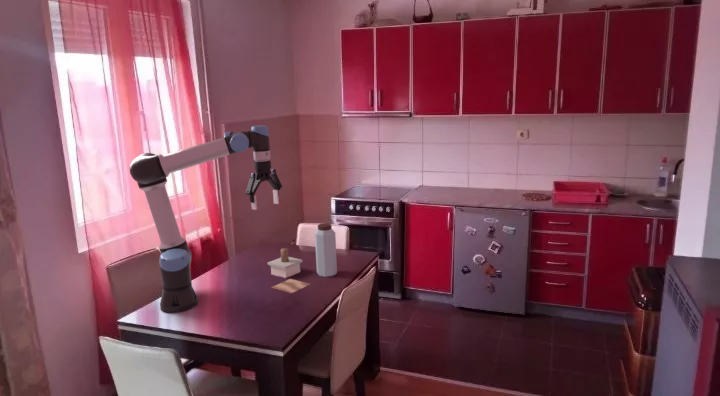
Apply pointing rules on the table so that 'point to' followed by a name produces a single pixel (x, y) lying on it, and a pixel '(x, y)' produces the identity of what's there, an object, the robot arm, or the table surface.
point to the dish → (285, 271)
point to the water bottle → (325, 250)
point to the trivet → (290, 285)
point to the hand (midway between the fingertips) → (265, 206)
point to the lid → (285, 260)
